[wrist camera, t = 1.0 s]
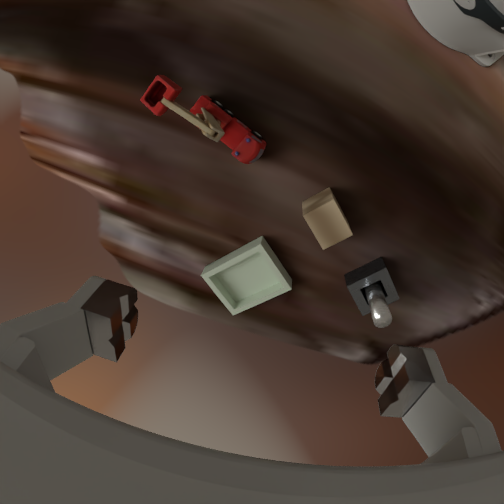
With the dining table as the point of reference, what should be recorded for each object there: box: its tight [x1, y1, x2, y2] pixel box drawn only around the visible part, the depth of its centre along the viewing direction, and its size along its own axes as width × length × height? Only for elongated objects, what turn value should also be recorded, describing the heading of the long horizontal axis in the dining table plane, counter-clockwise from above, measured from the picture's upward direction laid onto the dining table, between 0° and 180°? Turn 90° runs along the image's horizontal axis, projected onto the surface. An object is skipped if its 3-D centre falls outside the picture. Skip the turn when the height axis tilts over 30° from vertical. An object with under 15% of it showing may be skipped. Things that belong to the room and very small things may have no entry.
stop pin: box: [364, 281, 392, 328], centre depth 40 cm, size 2×2×9 cm
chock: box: [302, 187, 353, 250], centre depth 38 cm, size 4×5×5 cm
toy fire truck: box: [140, 75, 266, 164], centre depth 32 cm, size 3×14×10 cm, turn 50°
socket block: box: [344, 257, 399, 316], centre depth 42 cm, size 6×6×3 cm
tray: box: [201, 236, 292, 315], centre depth 45 cm, size 10×8×2 cm
